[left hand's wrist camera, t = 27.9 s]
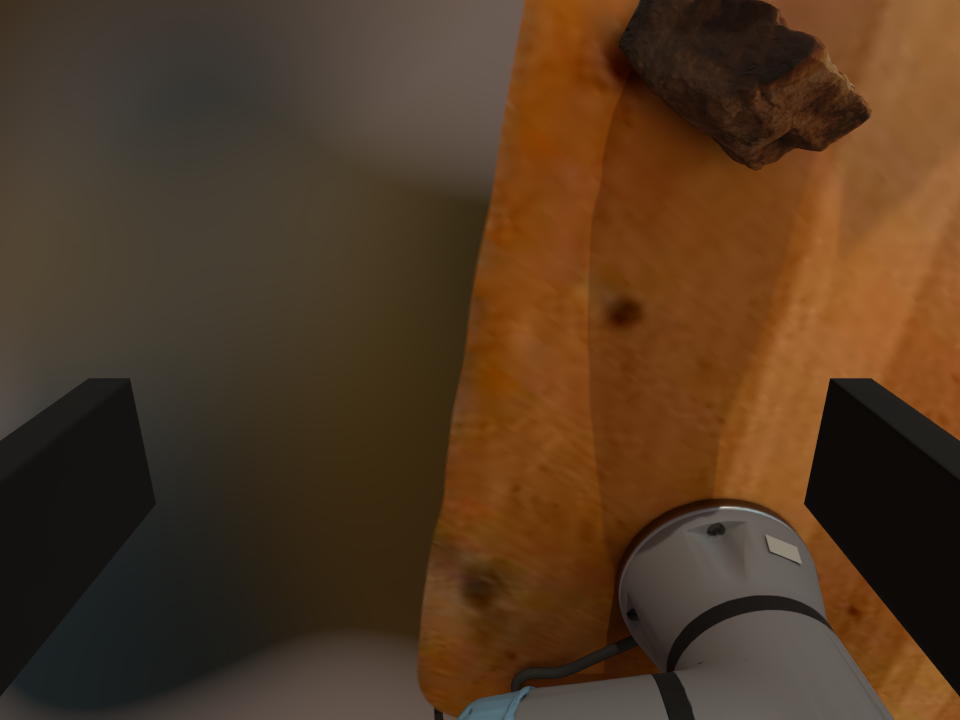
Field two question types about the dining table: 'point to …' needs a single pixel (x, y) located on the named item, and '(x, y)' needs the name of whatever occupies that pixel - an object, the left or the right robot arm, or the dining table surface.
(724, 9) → the decorative rock
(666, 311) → the dining table surface
